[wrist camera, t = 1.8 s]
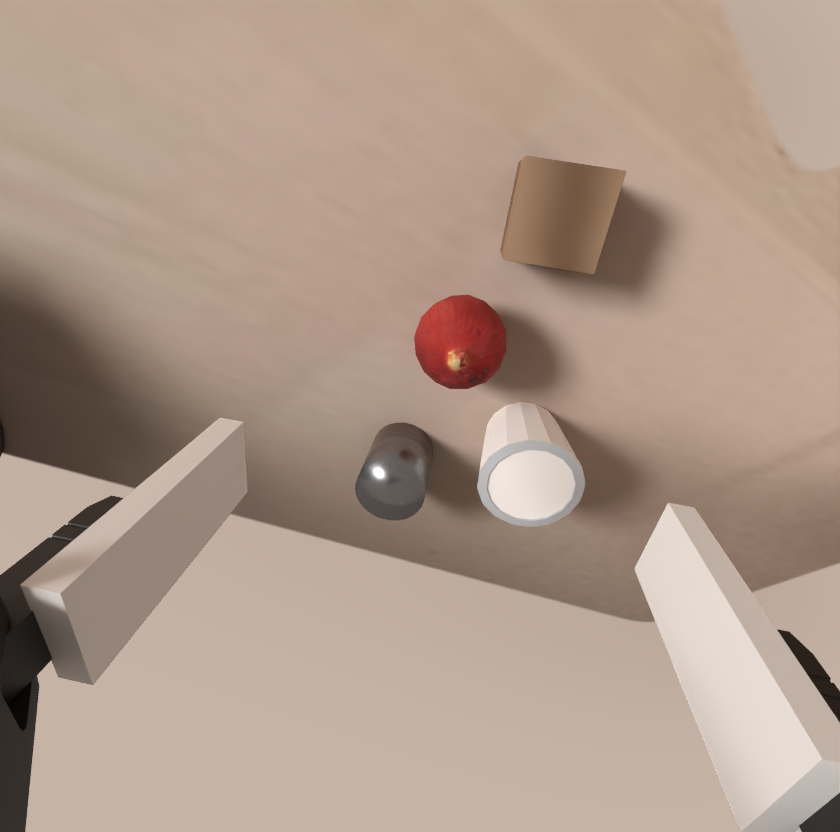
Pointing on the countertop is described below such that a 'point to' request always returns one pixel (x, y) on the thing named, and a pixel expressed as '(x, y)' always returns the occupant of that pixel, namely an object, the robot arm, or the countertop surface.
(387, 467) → the metal tin
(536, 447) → the white short cylinder
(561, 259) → the walnut block
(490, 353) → the onion
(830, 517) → the countertop surface
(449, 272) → the countertop surface
